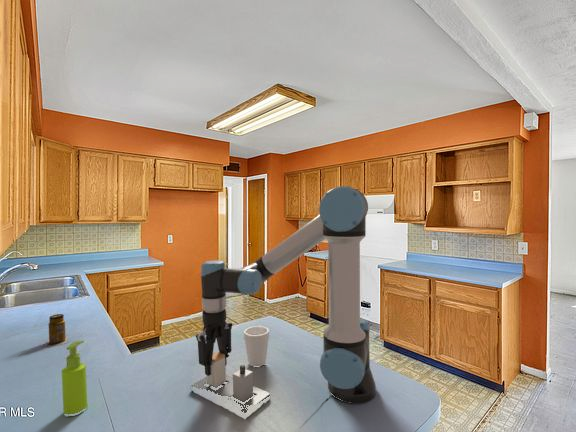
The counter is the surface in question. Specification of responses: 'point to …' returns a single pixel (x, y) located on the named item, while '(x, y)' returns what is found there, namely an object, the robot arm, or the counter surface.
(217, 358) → the plug
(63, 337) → the condiment
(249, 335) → the foam cup
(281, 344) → the counter surface
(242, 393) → the grey tall block
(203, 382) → the socket strip
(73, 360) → the soap dispenser
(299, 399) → the counter surface
